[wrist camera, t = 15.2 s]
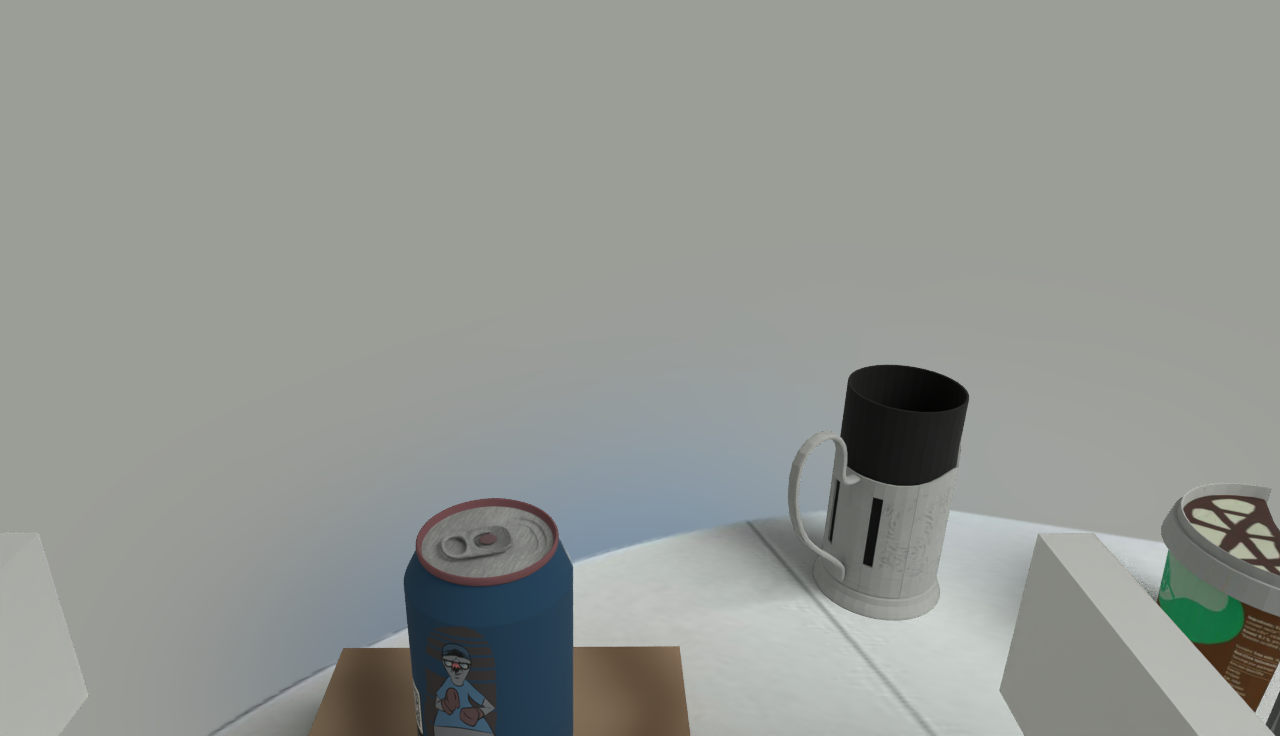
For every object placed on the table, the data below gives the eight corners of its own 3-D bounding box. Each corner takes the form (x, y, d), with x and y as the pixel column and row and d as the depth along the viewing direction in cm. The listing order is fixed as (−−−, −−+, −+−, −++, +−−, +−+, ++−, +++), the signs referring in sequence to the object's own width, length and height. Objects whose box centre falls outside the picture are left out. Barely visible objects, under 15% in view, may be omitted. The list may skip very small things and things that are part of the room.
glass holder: (965, 590, 60) (1008, 396, 54) (825, 671, 52) (857, 455, 46) (868, 530, 66) (896, 351, 60) (730, 595, 59) (747, 397, 53)
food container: (1123, 584, 61) (1161, 461, 57) (1223, 609, 59) (1270, 483, 55) (1134, 700, 51) (1182, 560, 47) (1257, 736, 48) (1317, 592, 44)
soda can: (551, 684, 44) (549, 480, 39) (592, 793, 38) (595, 568, 33) (412, 717, 41) (391, 505, 37) (432, 839, 35) (410, 604, 31)
